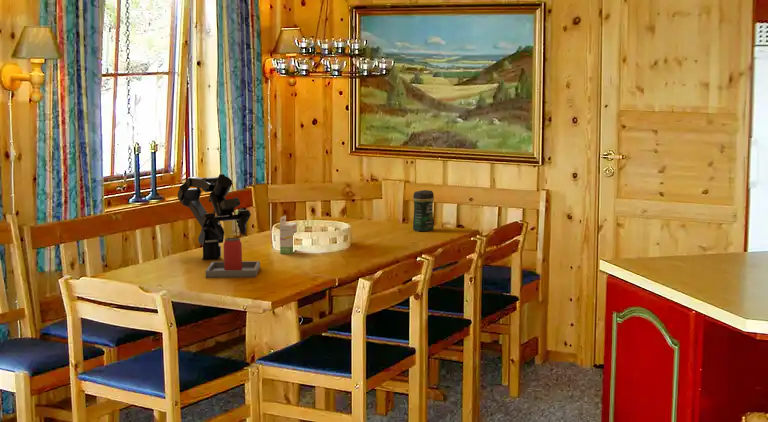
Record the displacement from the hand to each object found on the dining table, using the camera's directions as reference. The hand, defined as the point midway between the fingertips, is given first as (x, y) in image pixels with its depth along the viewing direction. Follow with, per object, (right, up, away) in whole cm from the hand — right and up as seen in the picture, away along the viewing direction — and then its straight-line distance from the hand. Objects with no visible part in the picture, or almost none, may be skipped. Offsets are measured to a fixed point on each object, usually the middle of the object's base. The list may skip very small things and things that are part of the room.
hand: (233, 235), depth 395 cm
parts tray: (+2, -13, -11) cm, 17 cm away
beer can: (+2, -13, -10) cm, 17 cm away
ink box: (+18, -8, +32) cm, 37 cm away
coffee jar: (+76, 0, +85) cm, 114 cm away
